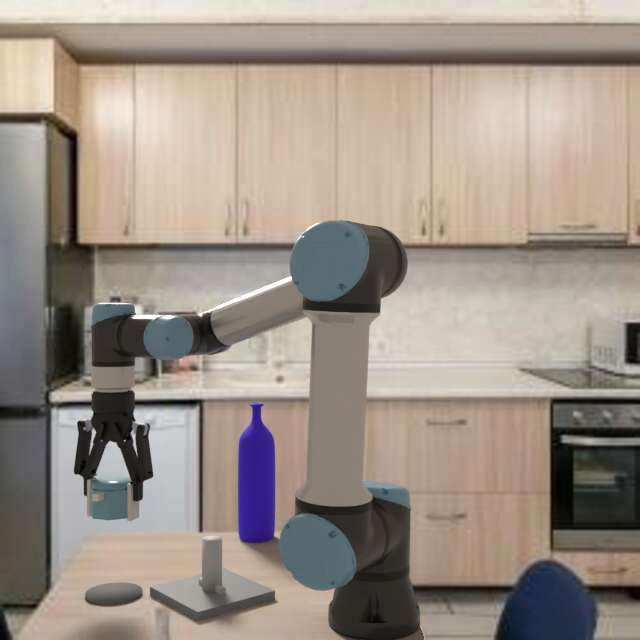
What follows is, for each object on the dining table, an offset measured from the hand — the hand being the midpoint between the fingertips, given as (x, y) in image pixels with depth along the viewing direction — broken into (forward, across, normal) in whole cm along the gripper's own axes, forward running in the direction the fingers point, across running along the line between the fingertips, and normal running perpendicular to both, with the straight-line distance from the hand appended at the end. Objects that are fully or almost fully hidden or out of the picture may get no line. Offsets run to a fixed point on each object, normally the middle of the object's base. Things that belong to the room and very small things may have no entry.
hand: (113, 516), depth 151 cm
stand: (+14, -17, -5) cm, 23 cm away
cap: (0, 0, 0) cm, 0 cm away
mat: (+14, 0, 0) cm, 14 cm away
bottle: (+14, -10, -42) cm, 45 cm away
